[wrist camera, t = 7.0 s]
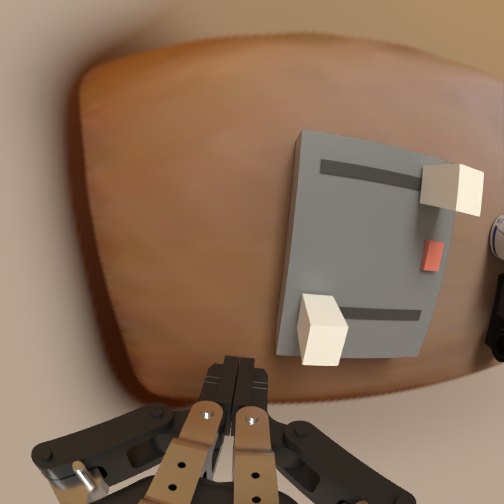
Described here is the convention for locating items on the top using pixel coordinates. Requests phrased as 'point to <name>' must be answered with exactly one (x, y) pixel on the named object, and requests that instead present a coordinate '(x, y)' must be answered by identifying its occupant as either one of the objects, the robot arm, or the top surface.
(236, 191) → the top surface
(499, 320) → the digital camera
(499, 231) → the energy drink
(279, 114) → the top surface
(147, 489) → the robot arm
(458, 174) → the on switch
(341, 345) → the cream eraser-shaped brick
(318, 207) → the breaker box
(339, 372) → the top surface
